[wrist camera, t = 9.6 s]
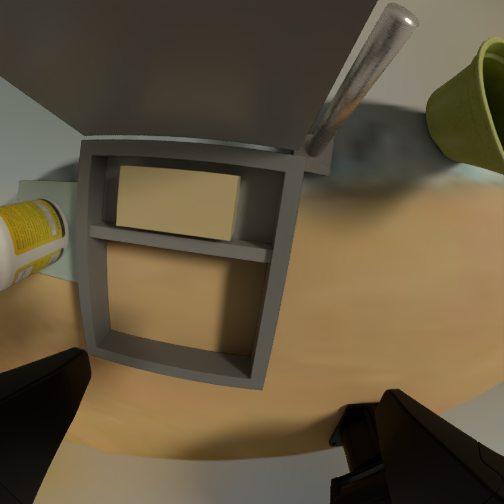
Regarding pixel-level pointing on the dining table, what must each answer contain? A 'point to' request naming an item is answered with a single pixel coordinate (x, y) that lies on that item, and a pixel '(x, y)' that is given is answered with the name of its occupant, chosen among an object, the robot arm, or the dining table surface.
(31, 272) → the supplement bottle
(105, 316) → the case
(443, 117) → the plant pot
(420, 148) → the dining table surface
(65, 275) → the pad
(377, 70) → the rod
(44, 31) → the lid
